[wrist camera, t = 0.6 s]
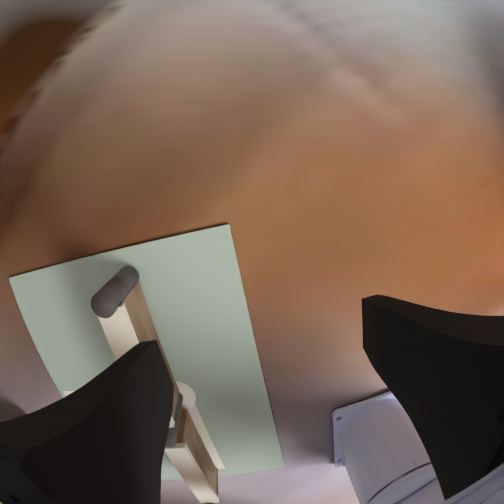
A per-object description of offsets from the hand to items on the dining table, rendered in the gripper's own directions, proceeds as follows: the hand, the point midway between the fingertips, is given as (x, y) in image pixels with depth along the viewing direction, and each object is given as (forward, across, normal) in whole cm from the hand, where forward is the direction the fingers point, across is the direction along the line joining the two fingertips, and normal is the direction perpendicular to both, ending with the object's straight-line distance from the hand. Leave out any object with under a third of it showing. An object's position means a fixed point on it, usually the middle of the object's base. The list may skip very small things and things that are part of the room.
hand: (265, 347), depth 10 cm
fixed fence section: (+10, +7, +14) cm, 19 cm away
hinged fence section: (+9, +7, +3) cm, 12 cm away
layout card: (+10, +9, +9) cm, 17 cm away
